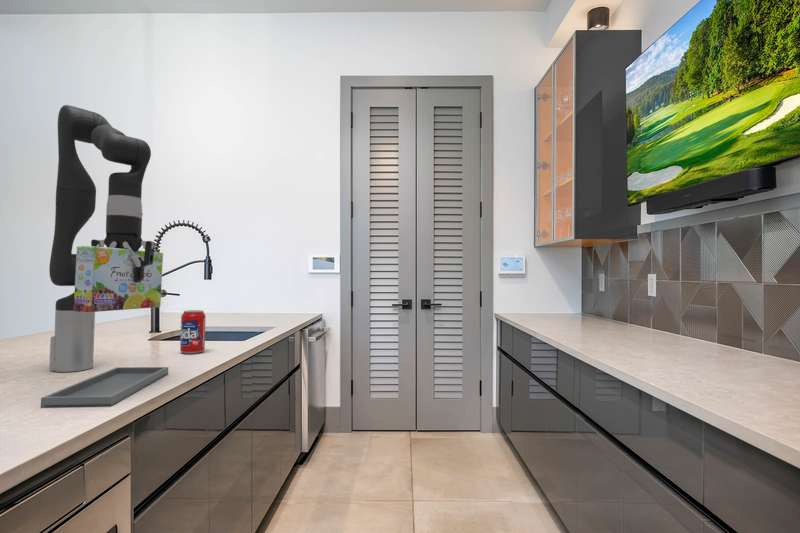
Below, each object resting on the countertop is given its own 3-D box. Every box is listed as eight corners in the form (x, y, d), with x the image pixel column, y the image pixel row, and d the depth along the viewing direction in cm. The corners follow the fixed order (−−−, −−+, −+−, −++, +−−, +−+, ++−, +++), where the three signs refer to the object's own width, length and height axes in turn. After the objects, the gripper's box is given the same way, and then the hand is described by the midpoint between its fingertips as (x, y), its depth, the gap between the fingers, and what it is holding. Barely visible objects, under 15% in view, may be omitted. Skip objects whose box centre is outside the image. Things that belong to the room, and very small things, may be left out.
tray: (40, 407, 89) (40, 397, 89) (115, 374, 118) (116, 367, 118) (111, 406, 91) (111, 396, 91) (168, 374, 120) (168, 367, 120)
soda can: (209, 351, 156) (210, 310, 156) (194, 355, 148) (195, 311, 148) (190, 350, 158) (191, 309, 158) (174, 353, 150) (176, 311, 150)
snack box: (93, 313, 96) (95, 245, 96) (72, 312, 97) (74, 245, 97) (162, 307, 117) (163, 251, 117) (144, 306, 118) (145, 251, 118)
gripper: (84, 212, 102) (82, 282, 102) (148, 214, 104) (146, 282, 104) (101, 216, 110) (99, 281, 109) (161, 218, 112) (159, 282, 111)
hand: (122, 281), depth 107 cm, fingers closed on snack box, 6 cm apart
